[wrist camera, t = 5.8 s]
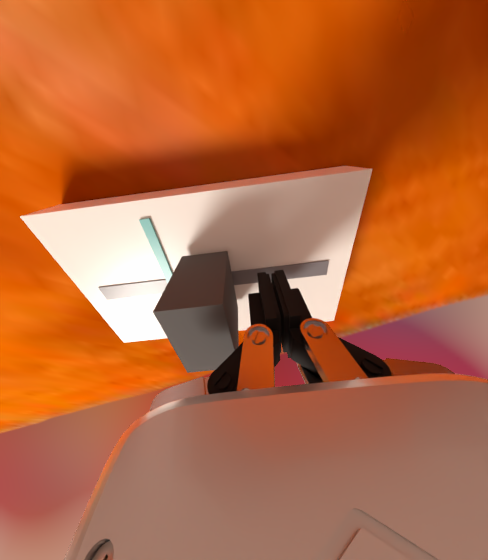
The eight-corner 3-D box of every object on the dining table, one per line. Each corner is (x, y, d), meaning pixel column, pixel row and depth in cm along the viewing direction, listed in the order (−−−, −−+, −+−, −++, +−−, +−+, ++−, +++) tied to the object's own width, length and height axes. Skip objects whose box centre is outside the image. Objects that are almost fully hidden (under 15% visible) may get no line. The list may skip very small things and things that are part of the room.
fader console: (344, 165, 12) (374, 169, 10) (321, 299, 19) (334, 322, 16) (61, 204, 13) (17, 217, 10) (137, 319, 20) (122, 344, 17)
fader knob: (227, 250, 12) (222, 304, 7) (238, 306, 14) (238, 367, 10) (181, 256, 12) (152, 311, 8) (201, 310, 15) (187, 372, 10)
